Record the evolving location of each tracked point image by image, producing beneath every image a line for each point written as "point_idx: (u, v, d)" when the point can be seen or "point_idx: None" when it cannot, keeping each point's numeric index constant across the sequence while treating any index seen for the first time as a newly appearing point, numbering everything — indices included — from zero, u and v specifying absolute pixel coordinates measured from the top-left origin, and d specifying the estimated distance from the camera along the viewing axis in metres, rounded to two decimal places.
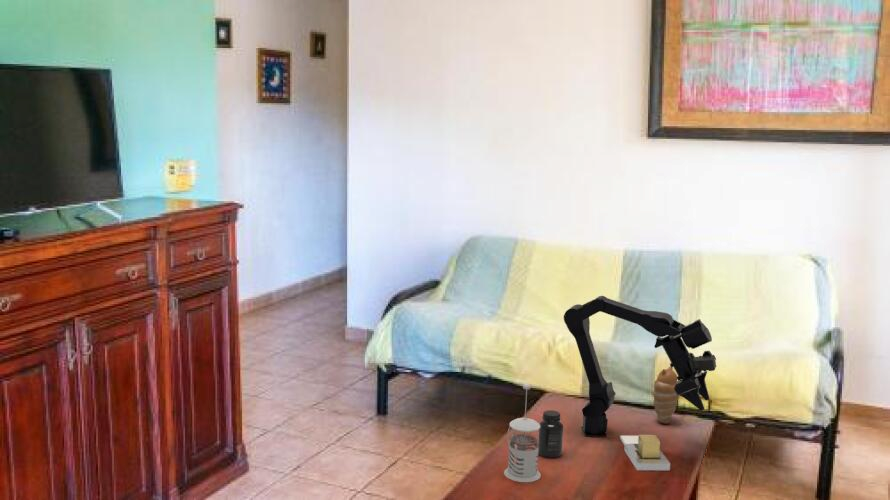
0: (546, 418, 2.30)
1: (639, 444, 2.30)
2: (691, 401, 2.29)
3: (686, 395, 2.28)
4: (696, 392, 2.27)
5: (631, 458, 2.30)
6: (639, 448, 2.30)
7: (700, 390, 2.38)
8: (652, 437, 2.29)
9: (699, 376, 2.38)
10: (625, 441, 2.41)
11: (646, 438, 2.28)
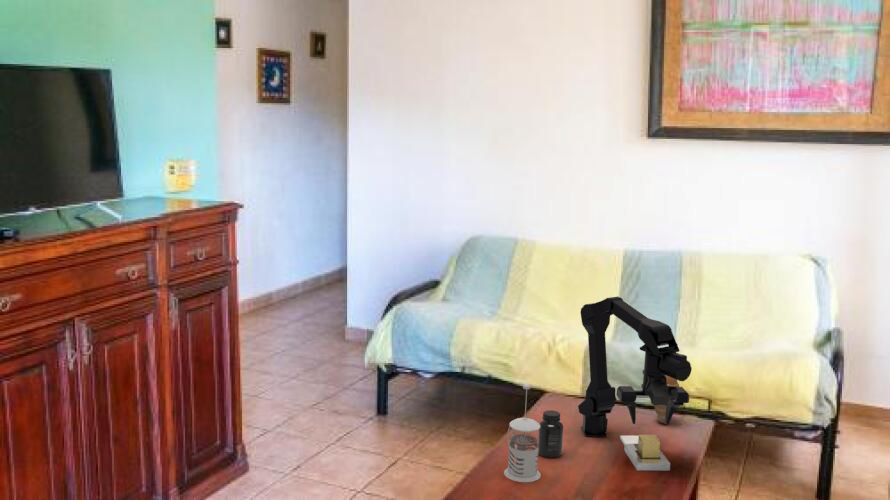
0: (546, 418, 2.30)
1: (639, 444, 2.30)
2: (629, 409, 2.28)
3: None
4: (629, 406, 2.25)
5: (631, 458, 2.30)
6: (639, 448, 2.30)
7: (666, 412, 2.28)
8: (652, 437, 2.29)
9: (671, 401, 2.26)
10: (625, 441, 2.41)
11: (646, 438, 2.28)
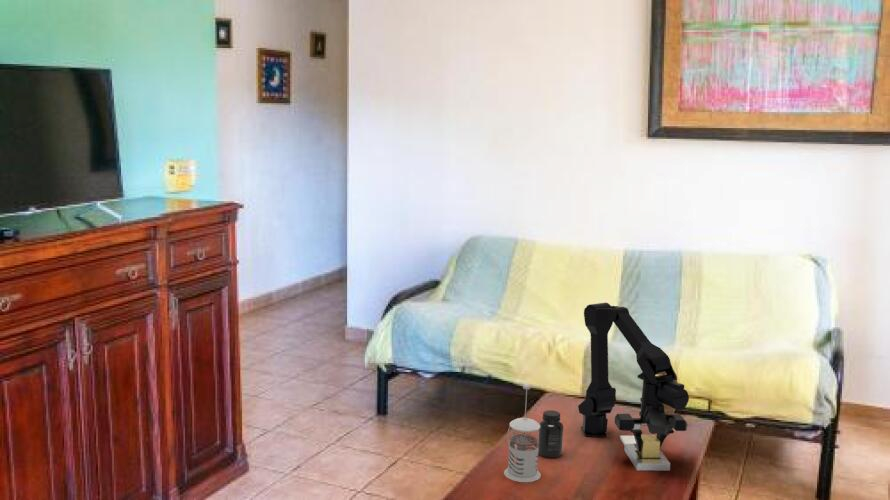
0: (546, 418, 2.30)
1: None
2: (634, 437, 2.30)
3: None
4: (635, 434, 2.27)
5: (631, 458, 2.30)
6: None
7: None
8: (652, 437, 2.29)
9: None
10: (625, 441, 2.41)
11: (646, 438, 2.28)
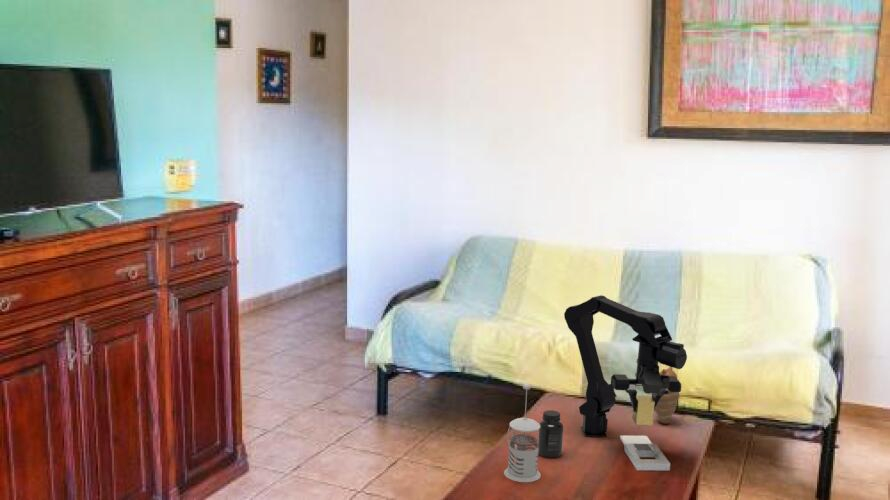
0: (546, 418, 2.30)
1: None
2: (630, 397, 2.36)
3: None
4: (630, 394, 2.33)
5: (631, 458, 2.30)
6: None
7: None
8: (647, 397, 2.35)
9: None
10: (625, 441, 2.41)
11: (641, 398, 2.34)
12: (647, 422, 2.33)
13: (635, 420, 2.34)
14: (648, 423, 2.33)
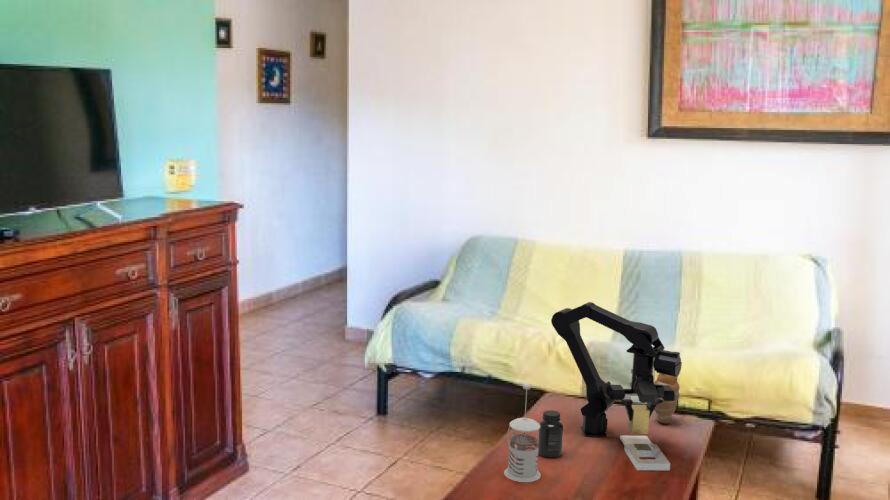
0: (546, 418, 2.30)
1: None
2: (625, 407, 2.41)
3: None
4: (626, 404, 2.38)
5: (631, 458, 2.30)
6: None
7: None
8: (642, 406, 2.40)
9: None
10: (625, 441, 2.41)
11: (637, 408, 2.39)
12: (642, 431, 2.39)
13: (631, 429, 2.39)
14: (643, 432, 2.39)
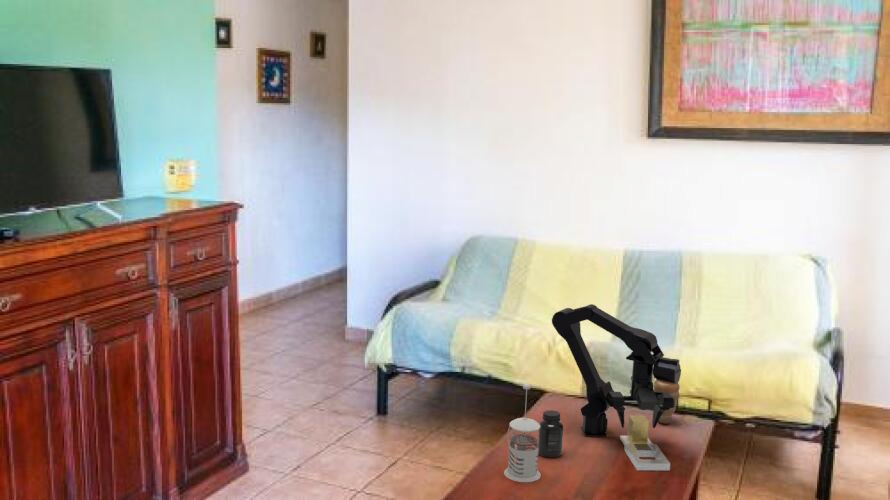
0: (546, 418, 2.30)
1: (629, 424, 2.41)
2: (618, 414, 2.41)
3: None
4: None
5: (631, 458, 2.30)
6: (629, 428, 2.41)
7: (654, 416, 2.41)
8: (641, 417, 2.41)
9: (658, 406, 2.39)
10: (625, 441, 2.41)
11: (636, 418, 2.40)
12: (642, 442, 2.39)
13: (630, 440, 2.40)
14: (643, 442, 2.39)
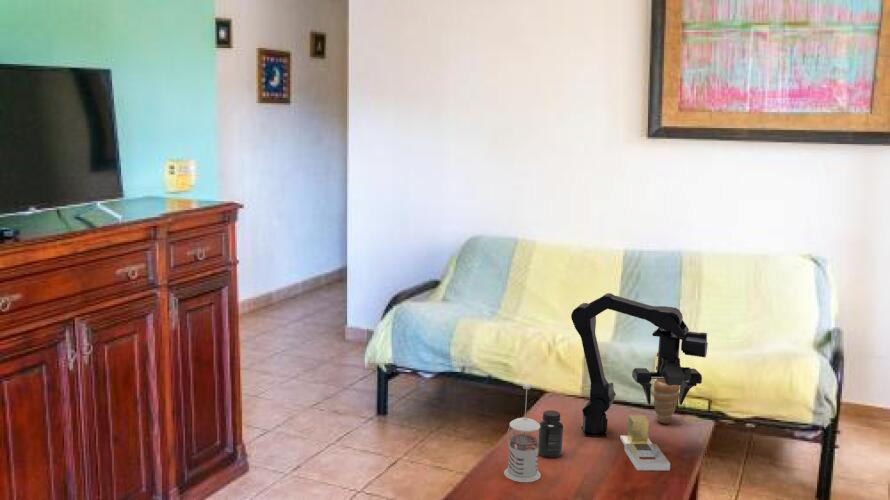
0: (546, 418, 2.30)
1: (629, 424, 2.41)
2: (644, 390, 2.39)
3: None
4: (645, 387, 2.36)
5: (631, 458, 2.30)
6: (629, 428, 2.41)
7: (680, 393, 2.39)
8: (641, 417, 2.41)
9: (685, 382, 2.37)
10: (625, 441, 2.41)
11: (636, 418, 2.40)
12: (642, 442, 2.39)
13: (630, 440, 2.40)
14: (643, 442, 2.39)
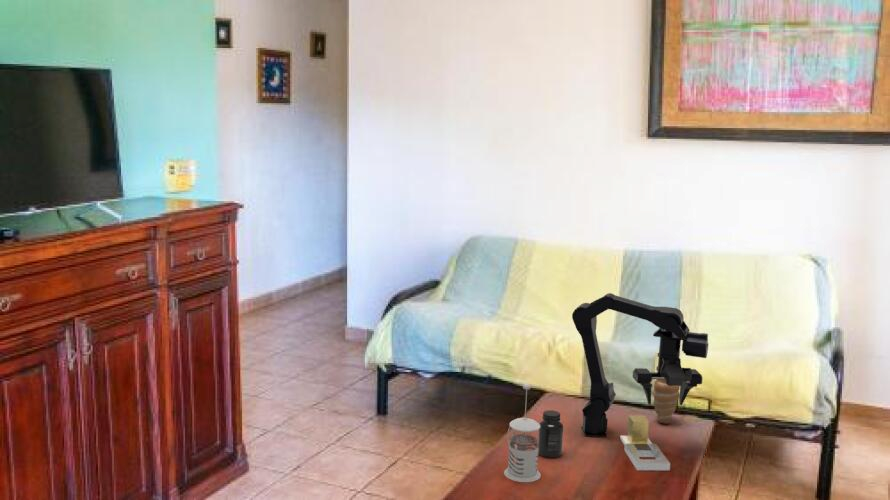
0: (546, 418, 2.30)
1: (629, 424, 2.41)
2: (644, 391, 2.39)
3: None
4: None
5: (631, 458, 2.30)
6: (629, 428, 2.41)
7: (680, 393, 2.39)
8: (641, 417, 2.41)
9: (685, 383, 2.37)
10: (625, 441, 2.41)
11: (636, 418, 2.40)
12: (642, 442, 2.39)
13: (630, 440, 2.40)
14: (643, 442, 2.39)
